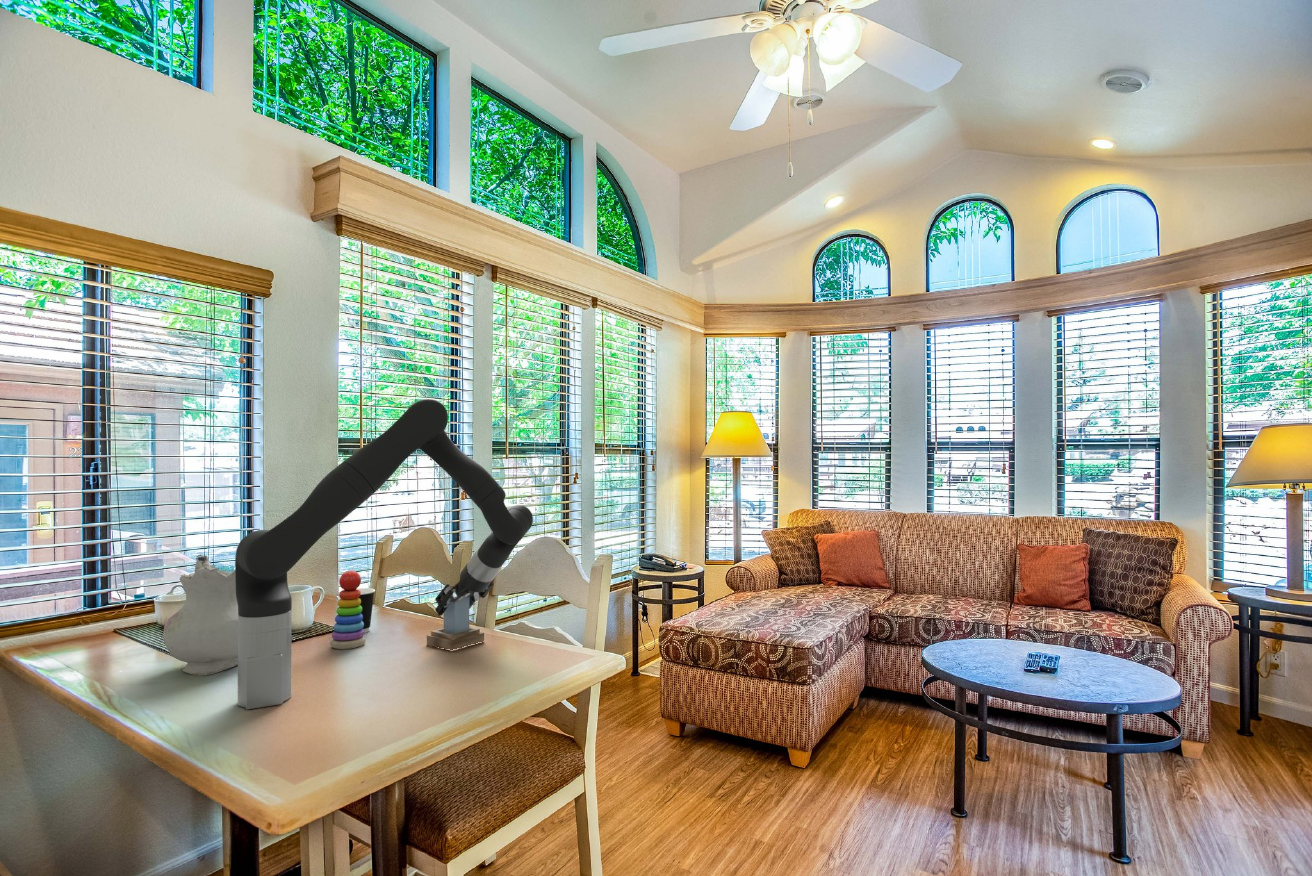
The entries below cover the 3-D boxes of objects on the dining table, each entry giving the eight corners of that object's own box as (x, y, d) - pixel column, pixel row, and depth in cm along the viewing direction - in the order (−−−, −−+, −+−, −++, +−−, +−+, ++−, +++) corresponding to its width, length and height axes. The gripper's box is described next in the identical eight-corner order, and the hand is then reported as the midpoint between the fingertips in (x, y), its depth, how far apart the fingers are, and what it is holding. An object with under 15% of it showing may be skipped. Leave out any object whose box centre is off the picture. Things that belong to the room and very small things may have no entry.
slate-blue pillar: (469, 633, 177) (469, 594, 177) (454, 637, 173) (454, 597, 173) (457, 630, 179) (457, 591, 179) (443, 634, 175) (443, 594, 176)
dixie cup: (377, 626, 194) (377, 587, 194) (372, 633, 186) (373, 592, 186) (346, 628, 192) (346, 588, 192) (341, 636, 184) (341, 594, 184)
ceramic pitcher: (142, 674, 156) (133, 565, 155) (229, 646, 173) (222, 547, 172) (197, 690, 146) (188, 573, 145) (284, 658, 163) (277, 553, 162)
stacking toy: (356, 650, 171) (357, 574, 171) (324, 650, 171) (325, 574, 171) (370, 641, 179) (371, 568, 179) (340, 641, 179) (340, 568, 179)
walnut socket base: (484, 642, 177) (484, 628, 177) (451, 651, 169) (451, 637, 169) (459, 636, 183) (459, 623, 183) (426, 645, 175) (426, 631, 175)
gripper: (497, 553, 178) (468, 593, 184) (451, 561, 166) (421, 603, 173) (511, 576, 174) (481, 616, 181) (465, 585, 163) (435, 627, 169)
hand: (452, 609), depth 177 cm, fingers open, 8 cm apart
